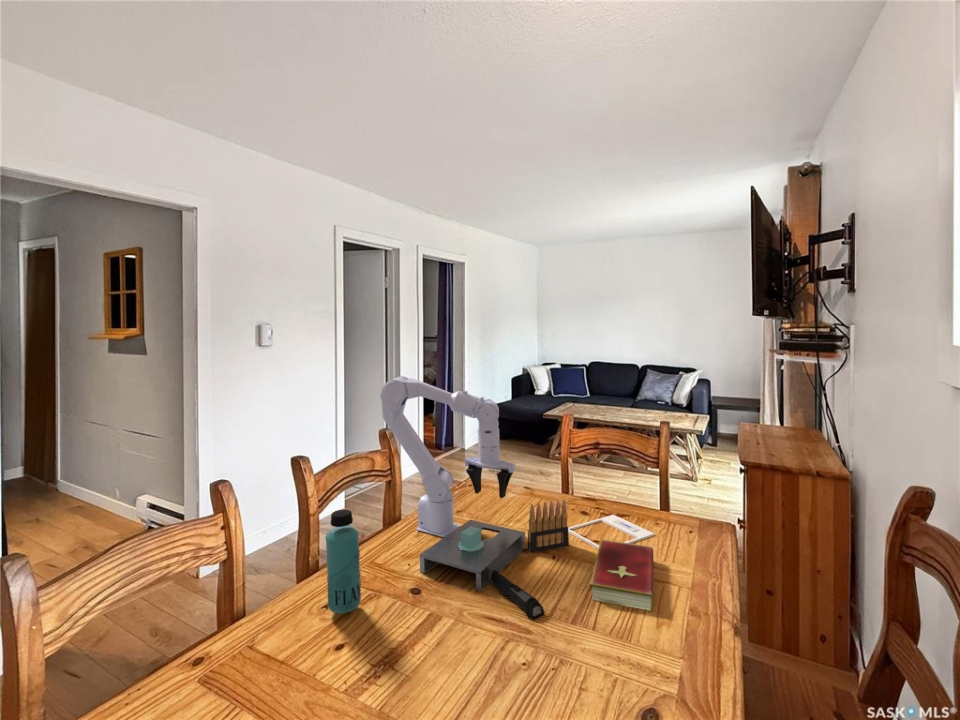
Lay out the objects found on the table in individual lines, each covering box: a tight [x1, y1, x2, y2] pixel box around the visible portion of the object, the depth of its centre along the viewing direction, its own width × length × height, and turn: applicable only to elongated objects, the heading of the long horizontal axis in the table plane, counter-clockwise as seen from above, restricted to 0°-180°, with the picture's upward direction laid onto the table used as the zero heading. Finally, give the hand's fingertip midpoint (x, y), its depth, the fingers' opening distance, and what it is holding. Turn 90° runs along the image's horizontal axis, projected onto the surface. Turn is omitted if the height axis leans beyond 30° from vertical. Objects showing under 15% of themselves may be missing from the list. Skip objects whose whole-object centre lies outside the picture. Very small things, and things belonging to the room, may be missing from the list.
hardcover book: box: [589, 538, 654, 613], centre depth 103 cm, size 12×21×4 cm, turn 160°
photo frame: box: [568, 514, 655, 550], centre depth 126 cm, size 15×1×18 cm
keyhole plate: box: [419, 519, 526, 592], centre depth 112 cm, size 16×22×4 cm
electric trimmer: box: [491, 570, 545, 621], centre depth 96 cm, size 4×16×3 cm, turn 31°
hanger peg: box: [458, 526, 484, 552], centre depth 111 cm, size 6×6×7 cm
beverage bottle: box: [325, 508, 362, 614], centre depth 92 cm, size 6×7×20 cm
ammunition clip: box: [526, 498, 570, 554], centre depth 118 cm, size 11×2×12 cm, turn 108°
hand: (490, 494), depth 128 cm, fingers open, 7 cm apart
